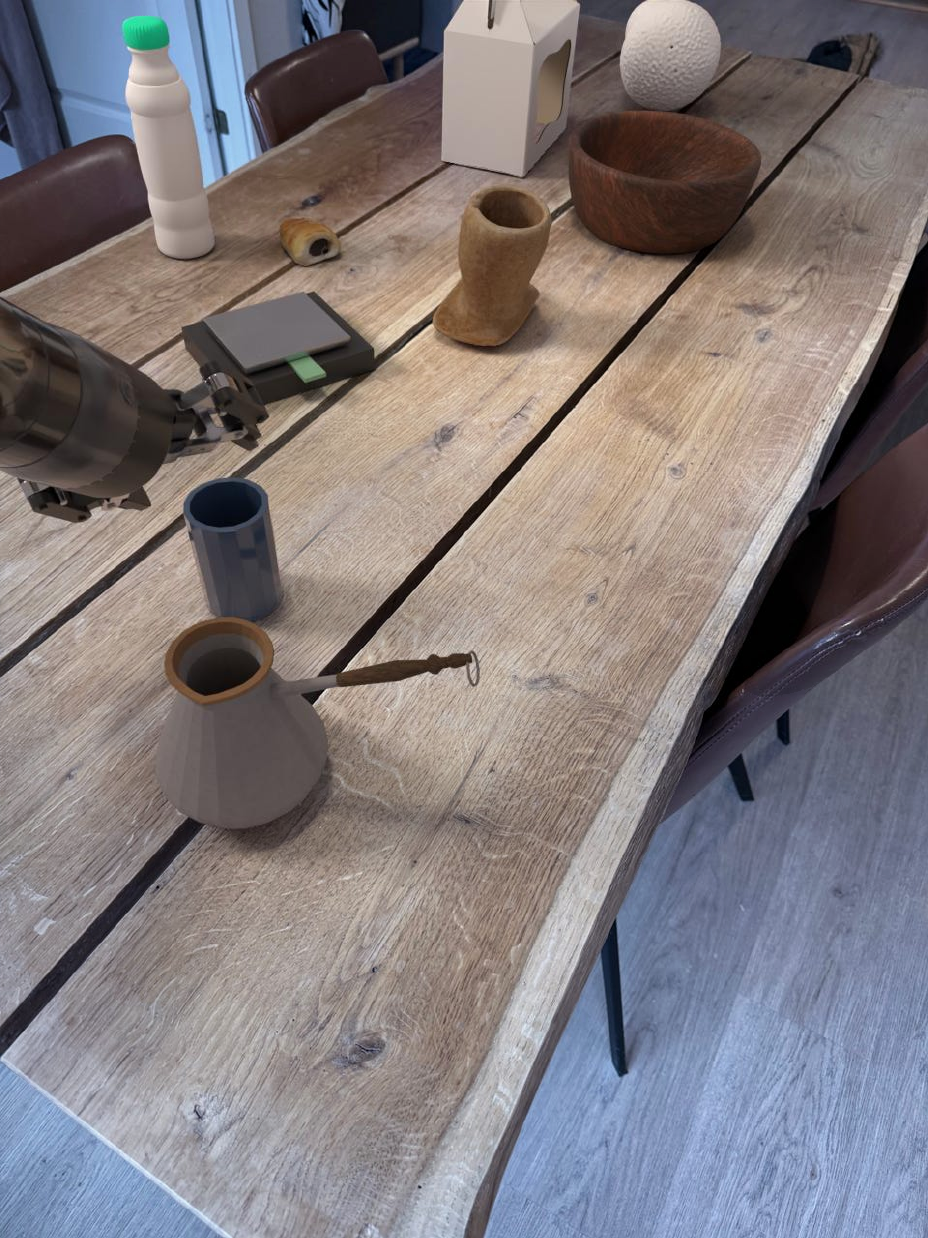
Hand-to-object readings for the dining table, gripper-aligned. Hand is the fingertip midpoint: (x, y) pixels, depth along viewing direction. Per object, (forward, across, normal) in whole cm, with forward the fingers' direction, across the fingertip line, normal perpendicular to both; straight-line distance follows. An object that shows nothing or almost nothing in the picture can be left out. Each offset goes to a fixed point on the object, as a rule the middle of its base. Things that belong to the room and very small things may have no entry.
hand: (194, 465), depth 62 cm
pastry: (+54, -10, -36) cm, 66 cm away
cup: (+13, +5, +7) cm, 16 cm away
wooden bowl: (+68, -53, -22) cm, 89 cm away
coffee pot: (+3, +3, +23) cm, 23 cm away
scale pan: (+35, -4, -20) cm, 40 cm away
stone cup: (+47, -26, -14) cm, 55 cm away
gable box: (+83, -43, -49) cm, 106 cm away
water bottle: (+52, +4, -43) cm, 67 cm away
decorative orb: (+100, -72, -50) cm, 133 cm away
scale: (+37, -3, -19) cm, 42 cm away
